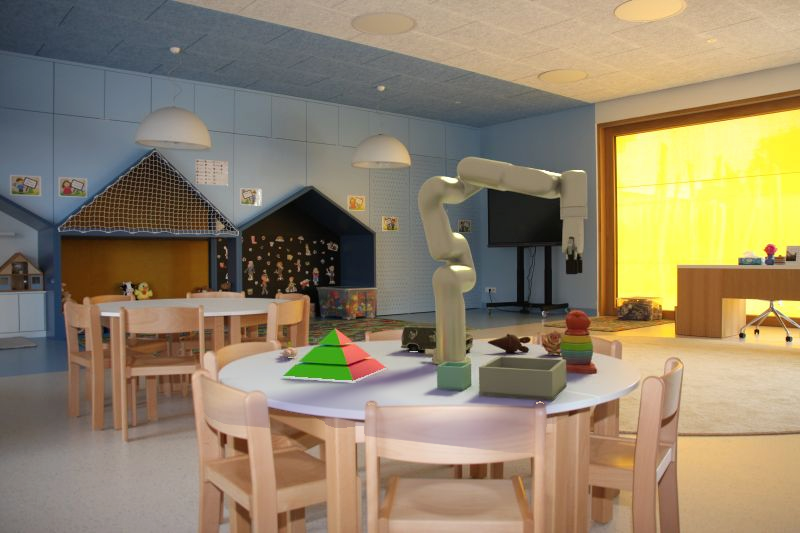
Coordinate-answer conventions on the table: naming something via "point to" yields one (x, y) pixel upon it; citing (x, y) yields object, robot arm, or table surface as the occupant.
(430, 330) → the toy van
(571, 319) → the stacking bear
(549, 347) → the flower
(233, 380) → the table surface
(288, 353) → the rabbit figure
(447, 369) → the box
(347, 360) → the pyramid toy
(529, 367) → the big crate
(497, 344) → the icecream
